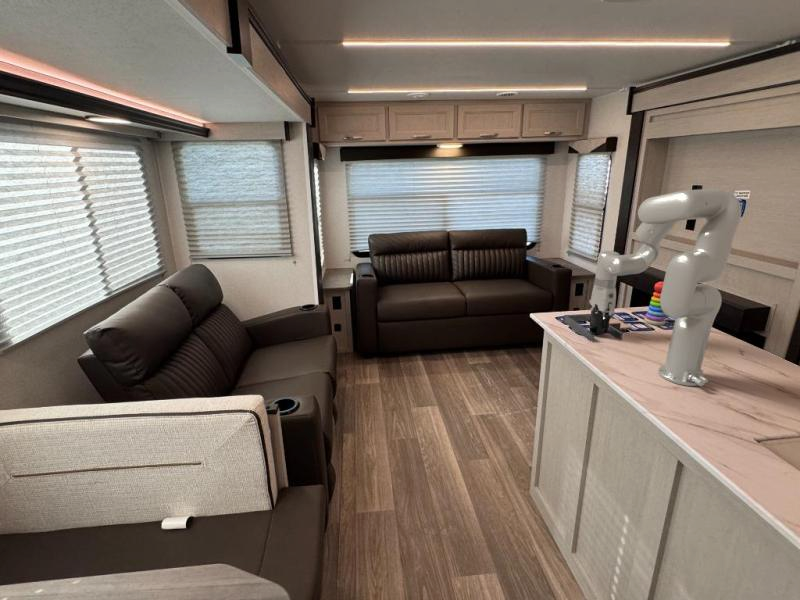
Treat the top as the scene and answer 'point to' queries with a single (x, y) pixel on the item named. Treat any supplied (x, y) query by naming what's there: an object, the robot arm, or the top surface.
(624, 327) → the end pad
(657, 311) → the stacking toy
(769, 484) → the top surface
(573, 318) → the bent rails
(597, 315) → the supplement bottle
